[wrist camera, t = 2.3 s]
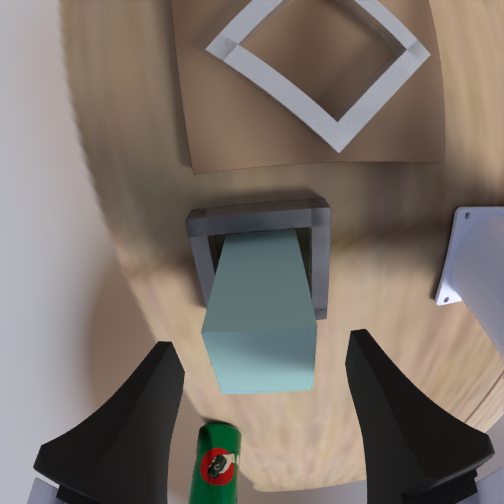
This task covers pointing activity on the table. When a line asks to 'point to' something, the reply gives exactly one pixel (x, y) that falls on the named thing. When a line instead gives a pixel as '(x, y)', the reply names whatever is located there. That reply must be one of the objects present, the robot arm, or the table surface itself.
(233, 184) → the table surface
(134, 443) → the robot arm
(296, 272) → the teal peg
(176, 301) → the table surface
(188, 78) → the socket board
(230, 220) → the stand socket
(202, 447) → the soda can
